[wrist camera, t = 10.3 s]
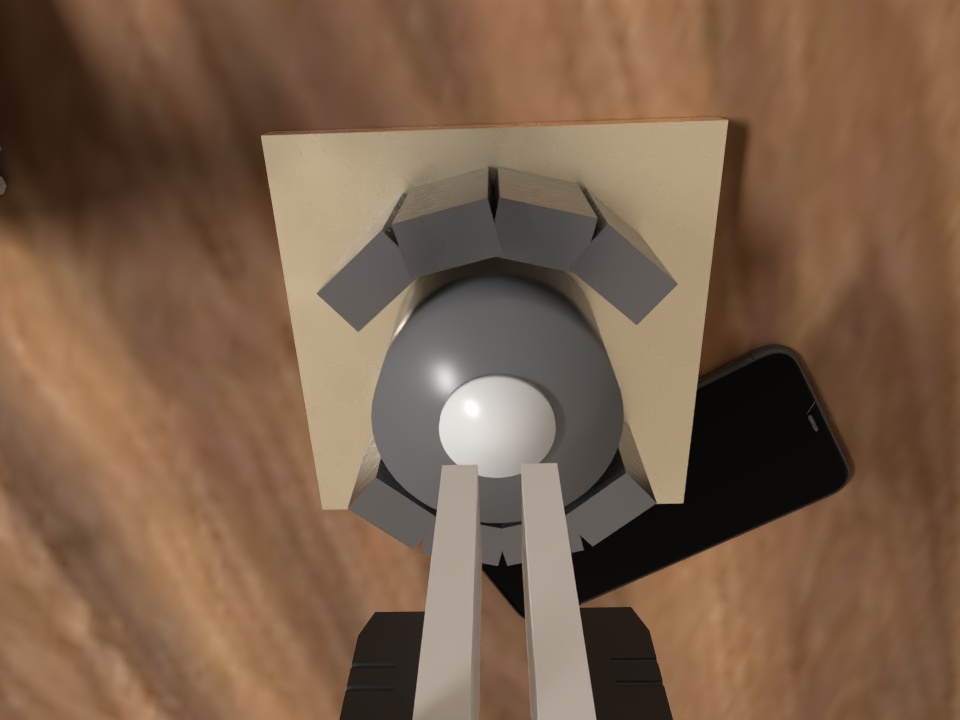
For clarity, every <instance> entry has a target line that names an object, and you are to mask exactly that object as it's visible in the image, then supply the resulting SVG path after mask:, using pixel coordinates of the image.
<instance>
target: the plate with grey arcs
mask: <svg viewBox="0 0 960 720" xmlns="http://www.w3.org/2000/svg"><path fill="white" fill-rule="evenodd" d="M727 127H728V120H727V119H724V118H721V117H690V118H660V119H630V120H600V121H570V122H540V123H510V124H480V125H450V126H420V127H390V128H360V129H330V130H300V131H271V132H268V133H266V134H264V135H261V139H262V145H263V151H264V157H265V164H266V170H267V176H268V182H269V188H270V194H271V200H272V206H273V212H274V218H275V224H276V230H277V236H278V242H279V248H280V254H281V261H282V267H283V273H284V279H285V285H286V291H287V297H288V303H289V309H290V315H291V321H292V327H293V333H294V339H295V345H296V352H297V358H298V364H299V370H300V376H301V382H302V388H303V394H304V400H305V406H306V412H307V418H308V424H309V430H310V436H311V442H312V449H313V455H314V461H315V467H316V473H317V479H318V485H319V491H320V497H321V503H322V509H323V510H326V509H349V510H351V511H352V512H354V513H356V514H357V515H359V516H360V517H362V518H364V519H365V520H367V521H368V522H370V523H371V524H373V525H375V526H376V527H378V528H379V529H381V530H383V531H384V532H386V533H387V534H389V535H390V536H392V537H394V538H395V539H397V540H398V541H400V542H402V543H403V544H405V545H406V546H408V547H410V548H411V549H413V548H414V547H415V546H416V545H417V544H418V543H419V542H420V541H421V540H422V539H423V544H422V551H421V553H426V554H432V548H433V539H434V531H435V522H436V514H437V510H436V509H434V508H431V507H430V506H428V505H426V504H425V503H423V502H421V501H420V500H418V499H417V498H415V497H414V496H413V495H412V494H410V493H409V492H408V491H406V490H405V489H404V488H403V487H402V486H401V485H400V484H399V483H398V482H397V481H396V479H395V478H394V477H393V475H392V474H391V473H390V472H389V470H388V469H387V467H386V465H385V464H384V462H383V460H382V459H381V457H380V454H379V452H378V449H377V447H376V444H375V440H374V436H373V432H372V422H371V411H372V401H373V396H374V392H375V388H376V384H377V381H378V378H379V375H380V371H381V368H382V365H383V361H384V358H385V355H386V352H387V348H388V345H389V342H390V339H391V335H392V332H393V329H394V326H395V322H396V319H397V316H398V313H399V311H400V308H401V306H402V303H403V302H404V300H405V298H406V296H407V295H408V293H409V292H410V290H411V289H412V288H413V286H414V285H415V284H416V283H417V282H418V281H419V280H420V279H421V278H422V277H423V276H424V275H428V274H432V273H436V272H439V271H443V270H447V269H451V268H454V267H458V266H462V265H466V264H469V263H473V262H477V261H481V260H484V259H488V258H492V257H499V258H504V259H509V260H514V261H518V262H523V263H528V264H533V265H538V266H542V267H547V268H552V269H557V270H562V271H564V272H565V273H566V274H567V275H568V276H569V277H570V278H571V279H572V280H573V281H574V282H575V283H576V284H577V285H578V286H579V288H580V289H581V290H582V292H583V293H584V295H585V296H586V298H587V300H588V302H589V304H590V306H591V309H592V311H593V314H594V317H595V320H596V322H597V325H598V328H599V331H600V334H601V337H602V339H603V342H604V345H605V348H606V351H607V353H608V356H609V359H610V362H611V365H612V368H613V370H614V373H615V376H616V379H617V382H618V384H619V387H620V390H621V395H622V400H623V411H624V421H623V430H622V435H621V439H620V442H619V446H618V448H617V451H616V453H615V455H614V458H613V460H612V461H611V463H610V464H609V466H608V468H607V469H606V471H605V472H604V473H603V475H602V476H601V477H600V478H599V480H598V481H597V482H596V483H595V484H594V485H593V486H592V487H591V488H590V489H589V490H588V491H587V492H585V493H584V494H583V495H581V496H580V497H579V498H577V499H576V500H575V501H573V502H571V503H569V504H568V505H566V506H564V512H565V518H566V525H567V531H568V538H569V544H570V551H571V553H573V552H578V551H582V550H584V548H583V542H582V537H583V538H584V539H585V540H586V541H587V542H588V543H589V544H590V545H592V546H594V545H596V544H597V543H599V542H600V541H602V540H603V539H605V538H606V537H608V536H609V535H610V534H612V533H613V532H615V531H616V530H618V529H619V528H621V527H622V526H624V525H625V524H627V523H628V522H630V521H631V520H633V519H634V518H636V517H637V516H639V515H640V514H641V513H643V512H644V511H646V510H647V509H649V508H650V507H652V506H653V505H655V504H675V503H683V501H684V493H685V484H686V476H687V467H688V459H689V450H690V442H691V433H692V425H693V416H694V408H695V399H696V391H697V382H698V374H699V365H700V357H701V348H702V340H703V331H704V323H705V314H706V306H707V297H708V289H709V280H710V272H711V263H712V255H713V246H714V238H715V229H716V221H717V212H718V204H719V195H720V187H721V178H722V170H723V161H724V153H725V144H726V136H727ZM480 531H481V555H482V563H484V564H489V565H495V566H498V564H499V561H500V557H501V554H502V551H503V554H504V557H505V560H506V563H507V566H509V565H514V564H519V563H522V521H519V522H509V523H484V522H480ZM581 536H582V537H581Z"/></svg>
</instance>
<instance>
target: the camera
mask: <svg viewBox="0 0 960 720" xmlns="http://www.w3.org/2000/svg"><path fill="white" fill-rule="evenodd" d="M0 152H1V146H0ZM5 189H6V183H5V182H4V180H3V178H2V177H1V176H0V195H1V194H4V192H5Z"/></svg>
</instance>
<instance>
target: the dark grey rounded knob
mask: <svg viewBox="0 0 960 720" xmlns="http://www.w3.org/2000/svg"><path fill="white" fill-rule="evenodd" d="M623 421H624V411H623V400H622V395H621V390H620V387H619V384H618V382H617V379H616V376H615V373H614V370H613V368H612V365H611V362H610V359H609V356H608V353H607V351H606V348H605V345H604V342H603V339H602V337H601V334H600V331H599V328H598V325H597V322H596V320H595V317H594V314H593V311H592V309H591V306H590V304H589V302H588V300H587V298H586V296H585V295H584V293H583V292H582V290H581V289H580V288H579V286H578V285H577V284H576V283H575V282H574V281H573V280H572V279H571V278H570V277H569V276H568V275H567V274H566V273H565V272H564V271H562V270H557V269H552V268H547V267H542V266H538V265H533V264H528V263H523V262H518V261H514V260H509V259H504V258H499V257H492V258H488V259H484V260H481V261H477V262H473V263H469V264H466V265H462V266H458V267H454V268H451V269H447V270H443V271H439V272H436V273H432V274H428V275H424V276H423V277H422V278H421V279H420V280H419V281H418V282H417V283H416V284H415V285H414V286H413V288H412V289H411V290H410V292H409V293H408V295H407V296H406V298H405V300H404V302H403V303H402V306H401V308H400V311H399V313H398V316H397V319H396V322H395V326H394V329H393V332H392V335H391V339H390V342H389V345H388V348H387V352H386V355H385V358H384V361H383V365H382V368H381V371H380V375H379V378H378V381H377V384H376V388H375V392H374V396H373V401H372V411H371V422H372V432H373V436H374V440H375V444H376V447H377V449H378V452H379V454H380V457H381V459H382V460H383V462H384V464H385V465H386V467H387V469H388V470H389V472H390V473H391V474H392V475H393V477H394V478H395V479H396V481H397V482H398V483H399V484H400V485H401V486H402V487H403V488H404V489H405V490H406V491H408V492H409V493H410V494H412V495H413V496H414V497H415V498H417V499H418V500H420V501H421V502H423V503H425V504H426V505H428V506H430V507H431V508H434V509H436V510H437V505H438V496H439V488H440V479H441V471H442V465H478V483H479V507H480V522H484V523H509V522H519V521H522V494H521V464H534V463H557V466H558V472H559V479H560V485H561V492H562V498H563V505H564V506H566V505H568V504H569V503H571V502H573V501H575V500H576V499H577V498H579V497H580V496H581V495H583V494H584V493H585V492H587V491H588V490H589V489H590V488H591V487H592V486H593V485H594V484H595V483H596V482H597V481H598V480H599V478H600V477H601V476H602V475H603V473H604V472H605V471H606V469H607V468H608V466H609V464H610V463H611V461H612V460H613V458H614V455H615V453H616V451H617V448H618V446H619V442H620V439H621V435H622V430H623Z"/></svg>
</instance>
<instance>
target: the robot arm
mask: <svg viewBox="0 0 960 720" xmlns="http://www.w3.org/2000/svg"><path fill="white" fill-rule="evenodd" d="M521 494H522V570H523V588H524V605H525V622H526V640H527V657H528V675H529V692H530V709H531V720H673V718H672V714H671V711H670V707H669V703H668V699H667V696H666V692H665V688H664V686H663V683H662V677H661V673H660V669H659V665H658V663H657V660H656V654H655V650H654V647H653V643H652V639H651V635H650V632H649V630H648V628H647V627H646V626H645V624H644V623H643V622H642V621H641V619H640V618H639V617H638V616H637V614H636V613H635V612H634V610H633V609H632V608H631V607H607V608H579V603H578V596H577V590H576V583H575V577H574V570H573V564H572V557H571V551H570V544H569V538H568V531H567V525H566V518H565V512H564V505H563V498H562V492H561V485H560V479H559V472H558V466H557V463H534V464H521ZM481 583H482V555H481V531H480V507H479V483H478V465H442V471H441V479H440V488H439V496H438V505H437V514H436V522H435V531H434V539H433V548H432V557H431V565H430V574H429V582H428V591H427V600H426V608H425V612H375V613H374V615H373V616H372V617H371V619H370V620H369V621H368V623H367V624H366V626H365V627H364V628H363V630H362V631H361V633H360V634H359V635H358V639H357V644H356V648H355V652H354V657H353V661H352V668H351V670H350V675H349V679H348V684H347V691H346V693H345V697H344V702H343V706H342V711H341V715H340V720H479V689H480V636H481Z"/></svg>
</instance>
